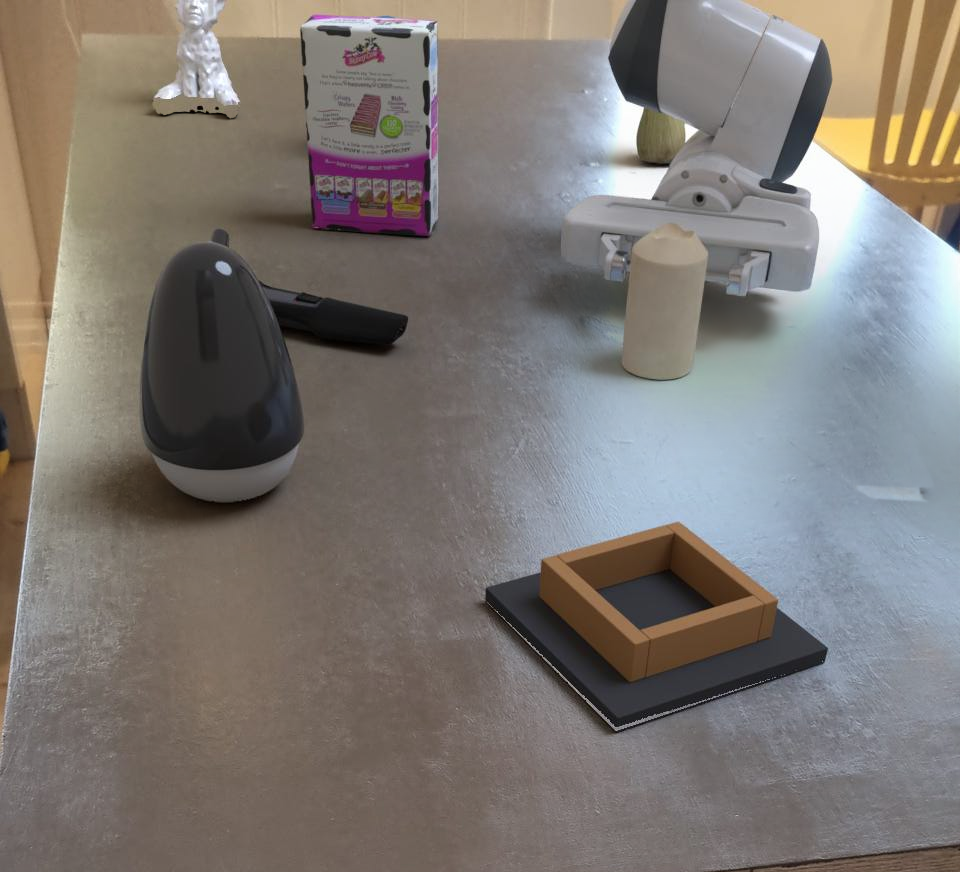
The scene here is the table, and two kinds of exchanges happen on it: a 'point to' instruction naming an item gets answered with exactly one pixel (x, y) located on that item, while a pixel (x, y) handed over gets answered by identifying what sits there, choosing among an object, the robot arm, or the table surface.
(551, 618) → the dock
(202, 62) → the sitting furry creature
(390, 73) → the candy bar box
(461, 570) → the table surface
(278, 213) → the table surface
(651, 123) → the fennel bulb
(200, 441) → the grey white egg shape
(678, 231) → the candle
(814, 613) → the table surface
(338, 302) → the electric trimmer
